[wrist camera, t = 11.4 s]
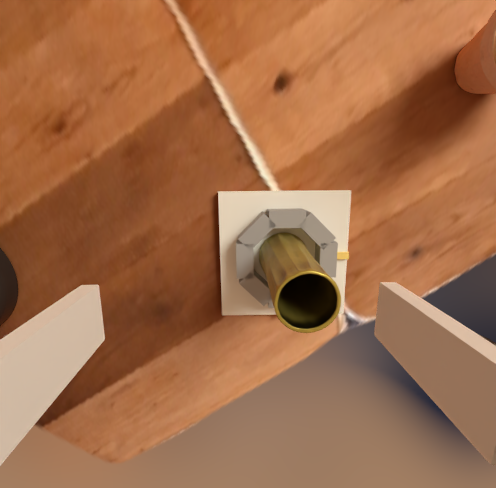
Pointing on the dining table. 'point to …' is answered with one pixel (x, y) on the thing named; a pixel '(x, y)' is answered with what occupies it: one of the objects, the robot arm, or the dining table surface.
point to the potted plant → (478, 61)
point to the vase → (298, 284)
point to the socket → (272, 222)
